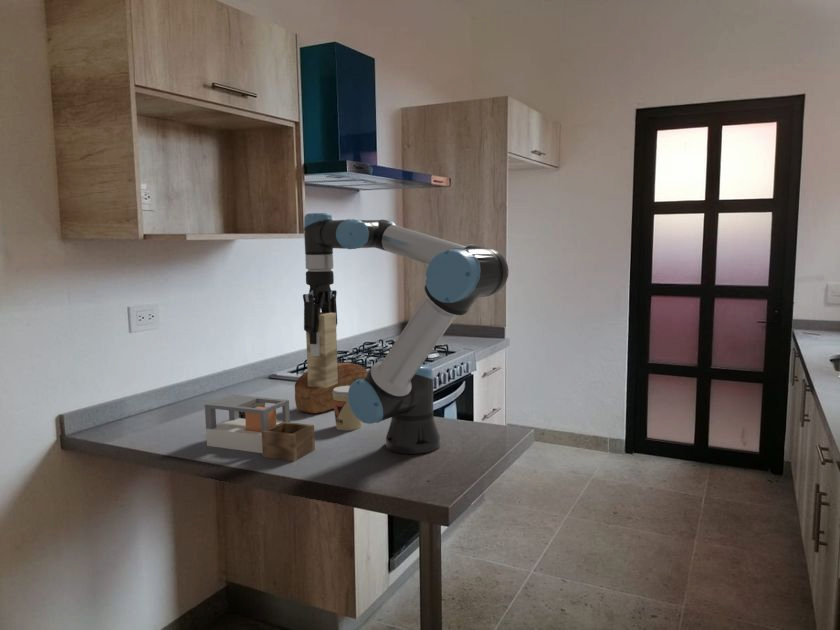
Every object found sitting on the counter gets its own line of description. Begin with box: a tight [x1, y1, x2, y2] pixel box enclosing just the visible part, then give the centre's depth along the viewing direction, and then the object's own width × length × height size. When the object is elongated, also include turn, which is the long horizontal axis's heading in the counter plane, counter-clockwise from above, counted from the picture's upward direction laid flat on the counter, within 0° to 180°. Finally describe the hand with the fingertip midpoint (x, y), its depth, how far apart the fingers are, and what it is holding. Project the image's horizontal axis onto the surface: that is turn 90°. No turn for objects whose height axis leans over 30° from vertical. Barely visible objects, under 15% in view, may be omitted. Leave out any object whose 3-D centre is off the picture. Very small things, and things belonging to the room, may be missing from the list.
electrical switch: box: [239, 402, 266, 419], centre depth 204 cm, size 9×5×9 cm, turn 113°
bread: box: [294, 362, 368, 414], centre depth 229 cm, size 12×28×14 cm, turn 140°
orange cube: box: [245, 406, 277, 432], centre depth 187 cm, size 6×6×6 cm
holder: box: [262, 421, 316, 462], centre depth 179 cm, size 10×10×7 cm
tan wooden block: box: [305, 311, 338, 388], centre depth 184 cm, size 6×6×20 cm
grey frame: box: [204, 394, 291, 454], centre depth 188 cm, size 20×12×12 cm, turn 67°
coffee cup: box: [332, 386, 363, 432], centre depth 203 cm, size 9×9×12 cm
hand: (322, 353), depth 184 cm, fingers closed on tan wooden block, 6 cm apart
